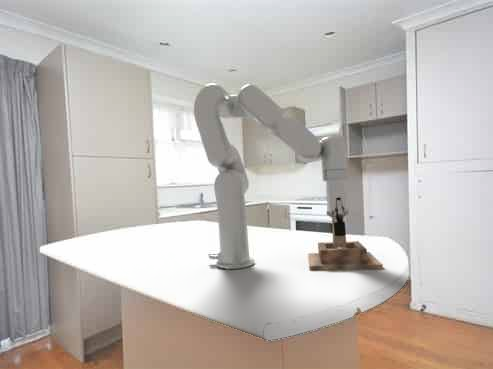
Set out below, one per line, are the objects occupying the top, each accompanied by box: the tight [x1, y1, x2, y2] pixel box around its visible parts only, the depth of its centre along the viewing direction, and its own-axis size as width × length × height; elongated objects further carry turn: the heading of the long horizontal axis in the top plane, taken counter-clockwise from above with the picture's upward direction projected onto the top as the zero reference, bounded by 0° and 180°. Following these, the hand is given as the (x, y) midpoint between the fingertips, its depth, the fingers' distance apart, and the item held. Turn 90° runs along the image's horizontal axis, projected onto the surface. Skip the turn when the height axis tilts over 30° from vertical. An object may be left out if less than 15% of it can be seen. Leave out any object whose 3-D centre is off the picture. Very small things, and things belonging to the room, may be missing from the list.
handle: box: [326, 209, 349, 249], centre depth 90 cm, size 5×6×15 cm
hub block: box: [307, 240, 384, 271], centre depth 90 cm, size 20×16×6 cm
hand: (339, 233), depth 90 cm, fingers open, 4 cm apart
